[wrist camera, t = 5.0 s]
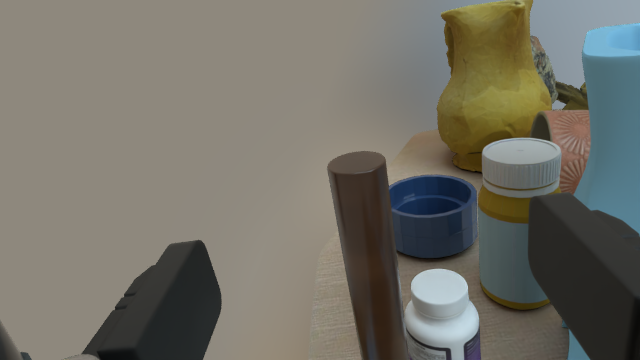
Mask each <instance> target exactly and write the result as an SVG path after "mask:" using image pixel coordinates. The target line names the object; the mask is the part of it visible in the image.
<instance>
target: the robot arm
mask: <svg viewBox="0 0 640 360" xmlns="http://www.w3.org/2000/svg"><path fill="white" fill-rule="evenodd" d="M528 260H529V265H530V269H531V272H532V274H533V276H534V278H535V280H536V281H537V283H538V284H539V286H540V287H541V289H542V290H543V292H544V293H545V295H546V296H547V298H548V299H549V300H550V302H551V303H552V305H553V306H554V308H555V309H556V311H557V312H558V314H559V315H560V316H561V318H562V319H563V321H564V322H565V324H566V325H567V327H568V328H569V330H570V331H571V332H572V334H573V335H574V337H575V338H576V340H577V341H578V343H579V344H580V346H581V347H582V348H583V350H584V351H585V353H586V354H587V356H588V357H589V359H590V360H640V236H639V233H638V232H636V231H635V230H634V229H633V228H631V227H630V226H629V225H628V224H626V223H625V222H624V221H623V220H621V219H619V218H616V217H614V216H611V215H609V214H607V213H604V212H602V211H600V210H590V209H589V208H587V207H586V206H585V205H584V204H583V203H582V202H580V201H579V200H578V199H577V198H576V197H575V196H573V195H572V194H571V193H569V192H563V193H555V194H548V195H540V196H533V197H532V198H531V200H530V203H529V223H528ZM220 311H221V292H220V288H219V285H218V282H217V279H216V276H215V273H214V270H213V267H212V264H211V261H210V258H209V255H208V252H207V249H206V247H205V245H204V243H203V242H202V241H200V240H196V241H189V242H181V243H174V244H170V245H169V246H168V247H167V249H166V250H165V251H164V253H163V255H162V256H161V257H160V259H159V260H158V262H157V263H156V265H153V266H151V267H150V268H148V269H147V270H146V271H145V272H143V273H142V274H141V275H140V276H139V277H137V278H136V279H135V280H134V281H133V283H132V284H131V286H130V287H129V288H128V290H127V291H126V293H125V294H124V297H123V298H121V300H120V301H119V302H118V304H117V305H116V306H115V310H113V311H112V312H111V313H110V315H109V316H108V318H107V319H106V320H105V322H104V323H103V325H102V326H101V327H100V329H99V330H98V332H97V333H96V334H95V336H94V337H93V338H92V340H91V341H90V343H89V344H88V345H87V347H86V348H85V350H84V351H83V353H82V354H81V355H75V356H71V357H68V358H66V359H63V360H203V358H204V355H205V352H206V350H207V347H208V344H209V341H210V339H211V336H212V334H213V331H214V328H215V326H216V323H217V320H218V318H219V315H220ZM0 360H31V358H30V356H29V355H28V353H24V352H19V350H18V348H17V347H16V345H15V343H14V342H13V340H12V338H11V337H10V335H9V334H8V332H7V331H6V329H5V327H4V326H3V324H2V322H1V321H0Z"/></svg>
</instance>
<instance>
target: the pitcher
mask: <svg viewBox="0 0 640 360" xmlns="http://www.w3.org/2000/svg"><path fill="white" fill-rule="evenodd" d="M532 3H533V0H506V1H499V2H492V3H485V4H477V5H470V6H466V7H461V8H457V9H453V10H448V11H445V12H443V13H441V17H442V19H444V20H445V21H446V24H445V28H444V34H445V42H446V45H447V46H448V51H447V53H446V54H447V57H448V63H449V66H450V67H451V78H450V81H449V83H448V85H447V86H446V88H445V89H444V91H443V93H442V94H441V96H440V99H439V102H438V105H437V111H438V130H439V133H440V136H441V139H442V140H443V142H445V143H446V144H447V145H448V147H449V148H450V150H451V151H452V152H455V153H457V154H456V155H455V156H454V157H453V158H452V159H453V160H452V161H453V162H454V163H453V164H454V165H456V166H458V167H459V168H461V169H466V170H471V171H475V170H476V171H480V172H482V152H483V149H484V148H485V147H486V146H487V145H489V144H491V143H493V142H496V141H499V140H504V139H511V138H530V132H531V127H532V123H533V120H534V118H535V116H536V114H537V113H538V112H539V111H552V102H551V97H550V93H549V91H548V88H547V87H546V85H545V84H544V82H543V81H542V79H541V78H540V76H539V74H538V72H537V71H536V68H535V65H534V61H533V56H532V48H531V40H530V22H529V21H530V19H529V17H530V10H531V7H532Z"/></svg>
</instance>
